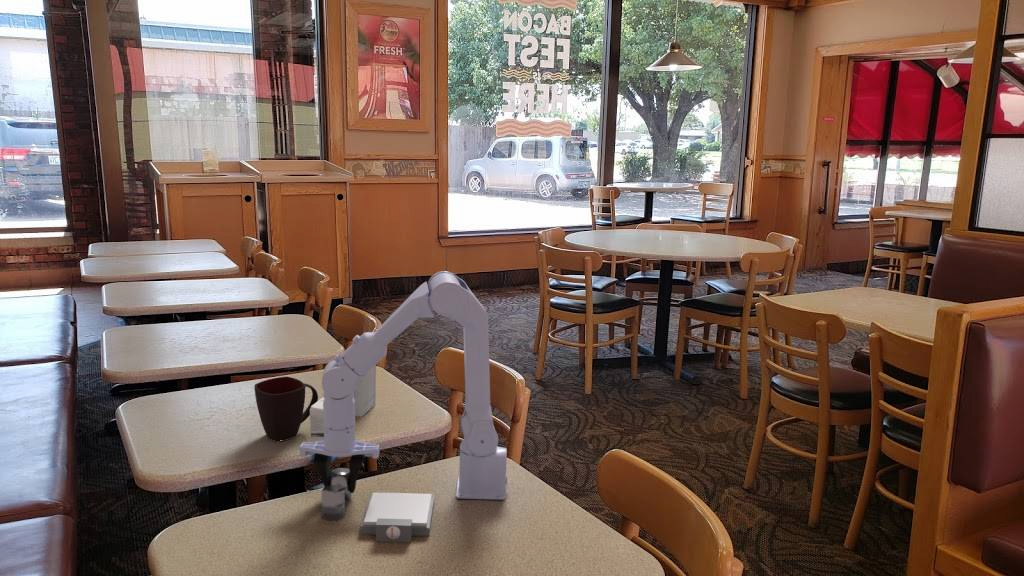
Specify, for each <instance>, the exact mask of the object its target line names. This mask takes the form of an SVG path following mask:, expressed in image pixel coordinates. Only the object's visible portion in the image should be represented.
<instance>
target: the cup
mask: <svg viewBox="0 0 1024 576" xmlns="http://www.w3.org/2000/svg"><path fill="white" fill-rule="evenodd" d="M253 388H254V396H255V402H256V407H257V410H258V414H259V415H258V416H259V418H260V421H261V425H262V428H263V430H264V432H265V435H266V437H267V438H268V439H269V438H270V440H271V439H272V440H271V441H273V440H275V441H274V442H276V441H280V440H285V441H287V440H286V439H289V438H291V439H293V438H292V437H294V436H295V437H297V436H296V435H298V433H299V430H300V426H301V424H302V423H304V422H305V421H306V420H307V419H308V418H310V408H311V406H312V405H313V404H315V403H316V402H317V401H319V394H318V392H317V389H315V387H314V386H313V385H311V384H309V383H304V382H303V381H301V380H300V379H297V378H296V377H291V376H279V377H273V378H269V379H265V380H262V381H260V382H257V383H255V384H254V387H253ZM306 388H308V389H310V390H311V392H312V395H311V400H310V402H309V405H308V406H307V407H306V409H304V408H305V403H306V402H305V401H306ZM304 410H305V411H304ZM295 437H294V438H295ZM289 440H290V439H289ZM280 442H281V441H280Z"/></svg>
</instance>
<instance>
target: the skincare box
mask: <svg viewBox="0 0 1024 576" xmlns="http://www.w3.org/2000/svg"><path fill="white" fill-rule="evenodd" d="M376 367H377V364H376V365H375V366H374V367H373V368H372V369H371V370H370V371H368V372H367V373H366V374H365V375H364V376H363V377H362V378H361V379H358V380H356V381H355V388H354V391H353V398H354V400H355V417H358V416H360V417H359V418H362V417H364V416H365V414H367V413H368V412H369V411H370V410H371V409H372V408H373V407H374V406H376V398H377V397H376V394H377V393H376V391H377V389H376V388H377V387H376V384H377V383H376V381H377V380H376V379H377V370H376V369H377V368H376Z"/></svg>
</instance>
